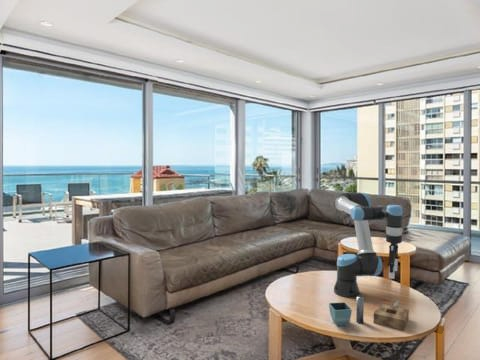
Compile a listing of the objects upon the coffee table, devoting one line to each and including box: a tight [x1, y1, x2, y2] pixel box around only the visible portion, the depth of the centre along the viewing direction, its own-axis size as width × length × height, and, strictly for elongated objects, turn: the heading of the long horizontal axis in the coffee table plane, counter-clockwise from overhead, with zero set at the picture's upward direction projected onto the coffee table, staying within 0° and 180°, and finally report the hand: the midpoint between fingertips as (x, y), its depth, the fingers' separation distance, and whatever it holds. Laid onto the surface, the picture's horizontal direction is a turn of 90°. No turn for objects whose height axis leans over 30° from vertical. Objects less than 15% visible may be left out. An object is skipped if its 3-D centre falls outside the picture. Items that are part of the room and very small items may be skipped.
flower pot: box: [328, 301, 352, 327], centre depth 167 cm, size 9×9×9 cm
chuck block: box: [373, 300, 410, 331], centre depth 175 cm, size 14×26×5 cm, turn 145°
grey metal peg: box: [355, 295, 365, 325], centre depth 168 cm, size 3×3×13 cm
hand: (393, 274), depth 175 cm, fingers open, 13 cm apart
